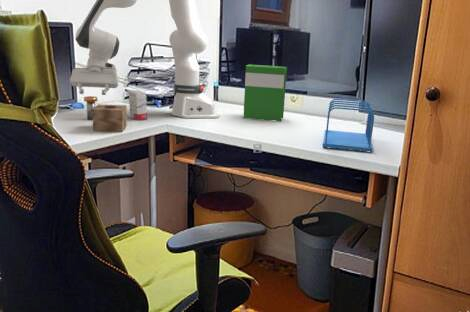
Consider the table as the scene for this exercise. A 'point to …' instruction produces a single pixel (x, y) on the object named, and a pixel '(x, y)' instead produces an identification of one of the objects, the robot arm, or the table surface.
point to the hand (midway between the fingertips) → (92, 93)
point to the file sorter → (349, 138)
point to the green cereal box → (264, 92)
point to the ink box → (137, 105)
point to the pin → (90, 106)
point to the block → (109, 118)
